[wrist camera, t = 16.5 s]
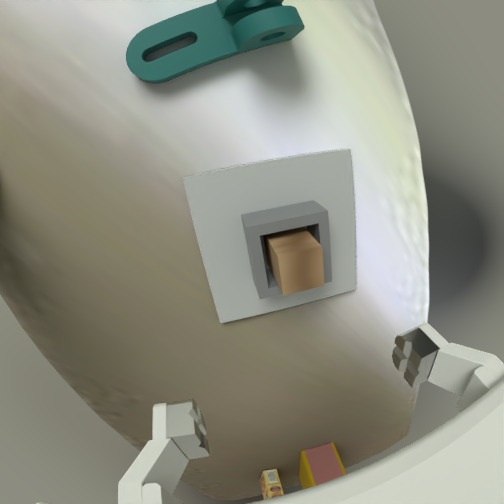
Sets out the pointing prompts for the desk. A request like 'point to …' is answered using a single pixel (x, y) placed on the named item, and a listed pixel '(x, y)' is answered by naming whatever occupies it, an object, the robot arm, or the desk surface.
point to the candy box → (270, 484)
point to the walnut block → (294, 260)
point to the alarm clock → (320, 465)
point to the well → (273, 227)
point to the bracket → (211, 36)
